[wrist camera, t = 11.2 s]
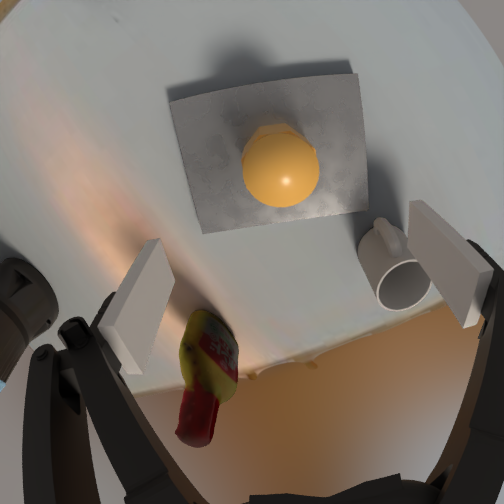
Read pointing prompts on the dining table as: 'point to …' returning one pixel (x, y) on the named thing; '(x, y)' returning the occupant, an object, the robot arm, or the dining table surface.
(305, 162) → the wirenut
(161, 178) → the dining table surface
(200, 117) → the plate
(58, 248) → the dining table surface
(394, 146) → the dining table surface
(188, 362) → the bottle
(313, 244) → the dining table surface
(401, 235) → the cup
